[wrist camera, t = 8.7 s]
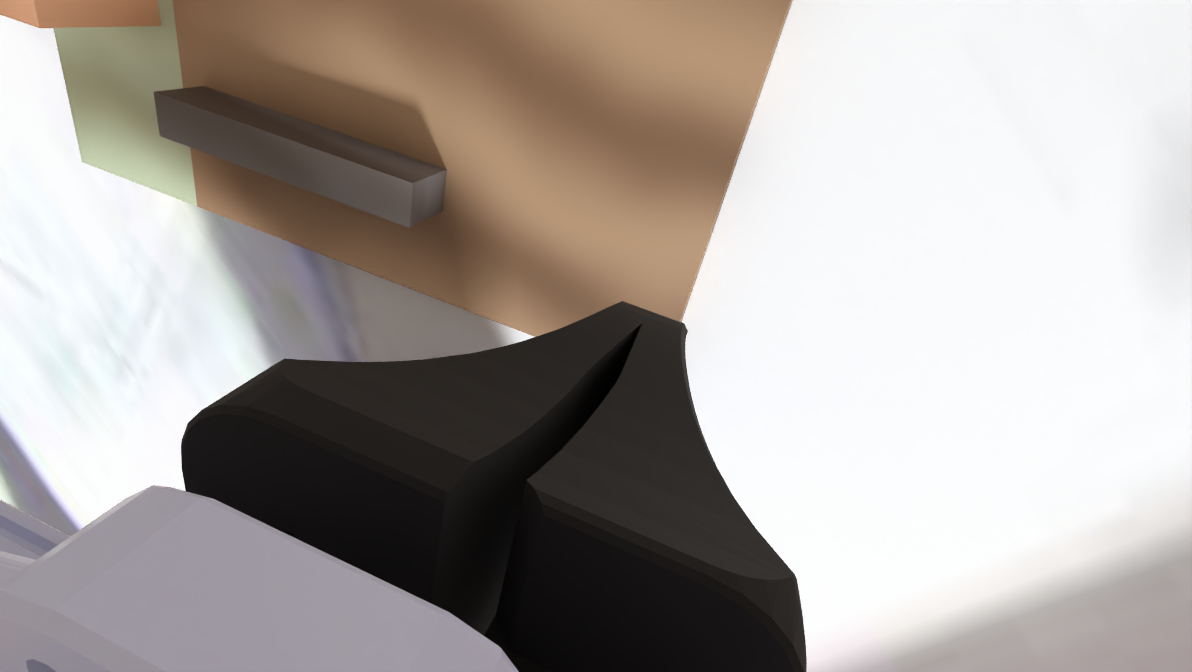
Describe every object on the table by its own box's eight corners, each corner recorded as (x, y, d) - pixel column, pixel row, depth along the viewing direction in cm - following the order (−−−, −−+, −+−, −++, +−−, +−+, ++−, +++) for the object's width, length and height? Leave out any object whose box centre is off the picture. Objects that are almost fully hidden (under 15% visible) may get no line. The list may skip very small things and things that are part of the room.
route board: (664, 370, 23) (643, 415, 20) (105, 157, 27) (30, 172, 25) (894, -295, 13) (909, -368, 11) (-13, -455, 18) (-153, -533, 15)
